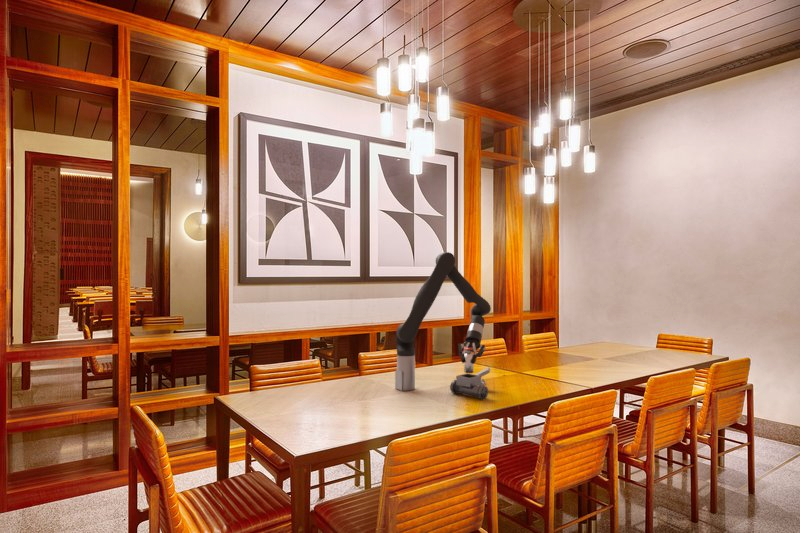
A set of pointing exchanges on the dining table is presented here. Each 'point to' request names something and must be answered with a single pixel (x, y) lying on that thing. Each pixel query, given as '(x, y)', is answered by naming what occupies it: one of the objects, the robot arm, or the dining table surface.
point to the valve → (468, 360)
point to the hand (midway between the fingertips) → (467, 362)
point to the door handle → (483, 375)
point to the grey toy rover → (469, 386)
